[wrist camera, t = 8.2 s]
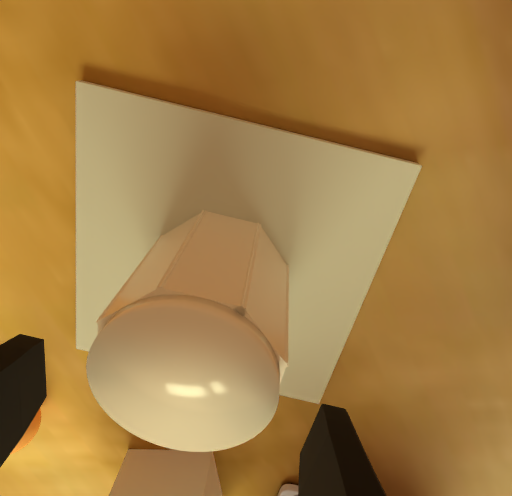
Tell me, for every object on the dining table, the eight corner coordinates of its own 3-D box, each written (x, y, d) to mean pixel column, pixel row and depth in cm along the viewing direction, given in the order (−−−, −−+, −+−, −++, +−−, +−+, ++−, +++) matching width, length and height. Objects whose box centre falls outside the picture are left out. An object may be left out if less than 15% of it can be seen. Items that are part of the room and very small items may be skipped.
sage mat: (418, 162, 13) (421, 165, 13) (318, 397, 18) (318, 404, 18) (81, 80, 13) (75, 80, 12) (80, 342, 18) (75, 348, 18)
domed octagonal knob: (299, 232, 14) (305, 335, 9) (267, 337, 17) (256, 469, 11) (163, 199, 14) (85, 283, 9) (151, 310, 16) (83, 430, 11)
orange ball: (52, 386, 20) (14, 436, 17) (53, 423, 21) (19, 475, 18) (-4, 373, 20) (-51, 422, 17) (1, 411, 21) (-41, 462, 18)
